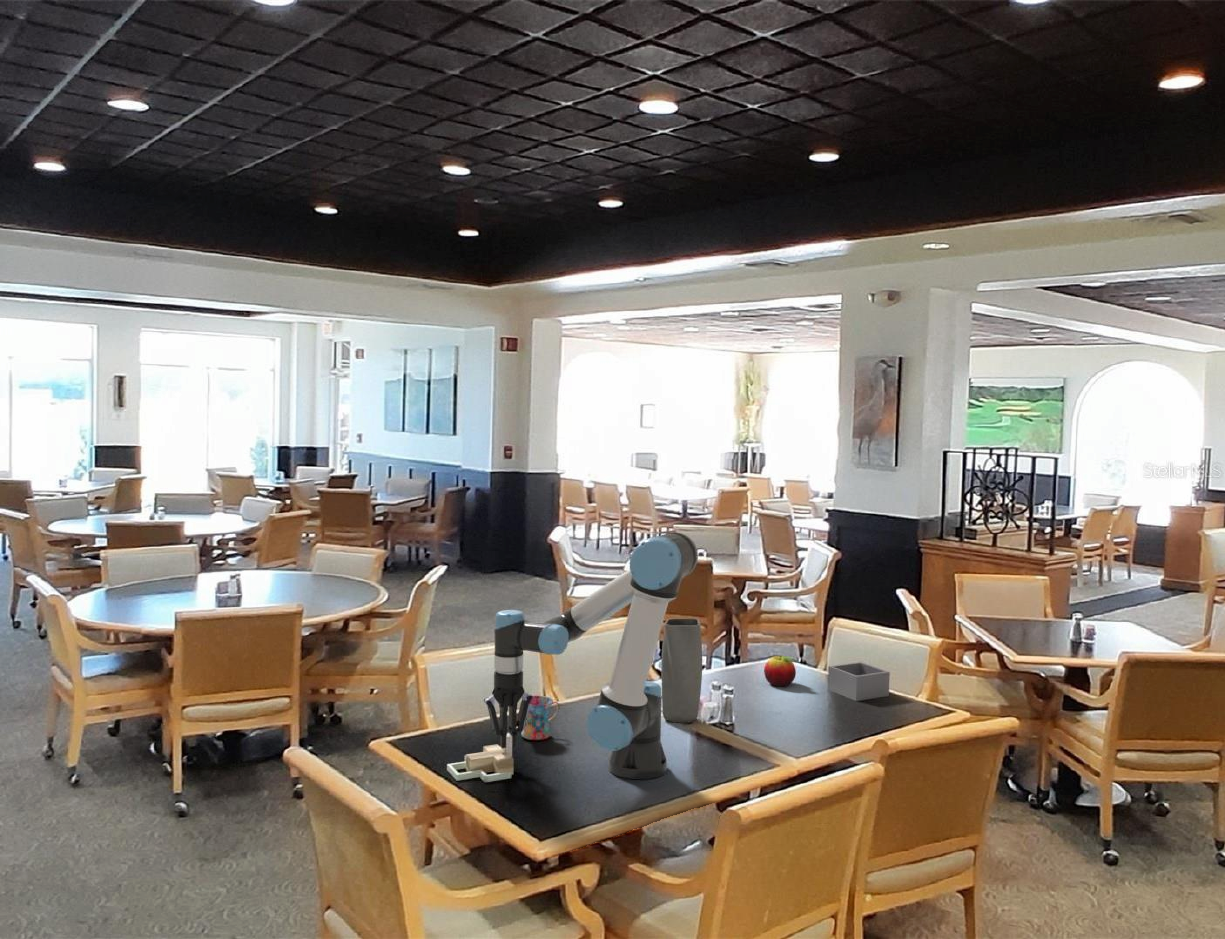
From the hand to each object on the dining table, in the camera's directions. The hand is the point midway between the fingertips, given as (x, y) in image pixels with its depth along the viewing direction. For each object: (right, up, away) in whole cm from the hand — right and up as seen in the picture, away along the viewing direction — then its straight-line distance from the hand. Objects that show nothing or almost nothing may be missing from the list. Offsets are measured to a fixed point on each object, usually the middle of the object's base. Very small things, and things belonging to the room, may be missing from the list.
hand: (507, 759), depth 257 cm
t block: (-5, -2, -3) cm, 6 cm away
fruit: (+85, +2, +80) cm, 117 cm away
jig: (-8, -2, -4) cm, 9 cm away
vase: (+48, 0, +40) cm, 62 cm away
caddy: (+109, +1, +71) cm, 131 cm away
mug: (+7, -1, +24) cm, 25 cm away
